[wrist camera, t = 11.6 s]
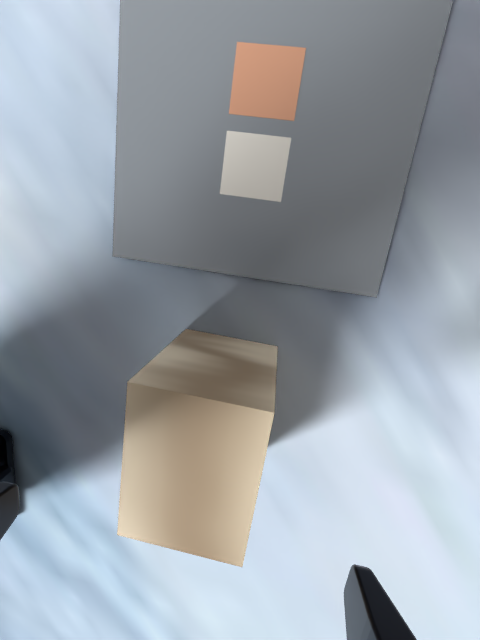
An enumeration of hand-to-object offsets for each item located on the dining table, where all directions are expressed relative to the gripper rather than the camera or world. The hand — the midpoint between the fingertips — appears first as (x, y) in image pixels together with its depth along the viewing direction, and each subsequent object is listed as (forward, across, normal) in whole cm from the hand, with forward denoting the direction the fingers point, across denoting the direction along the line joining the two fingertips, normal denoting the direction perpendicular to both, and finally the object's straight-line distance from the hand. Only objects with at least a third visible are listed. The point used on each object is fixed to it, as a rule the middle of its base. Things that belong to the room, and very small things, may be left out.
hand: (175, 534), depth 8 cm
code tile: (+8, 0, -12) cm, 14 cm away
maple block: (+8, 0, 0) cm, 8 cm away
